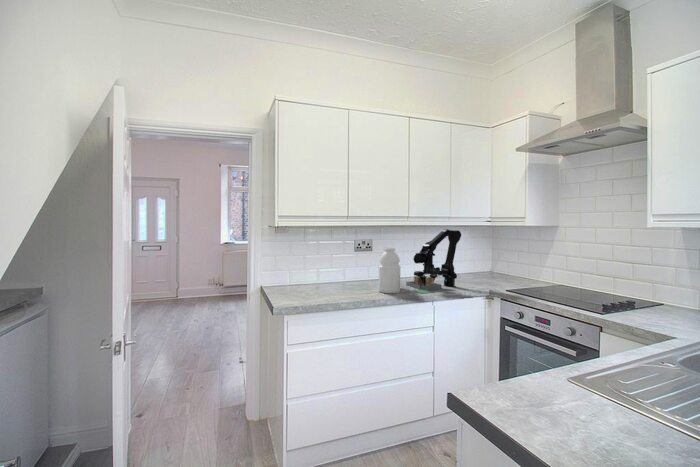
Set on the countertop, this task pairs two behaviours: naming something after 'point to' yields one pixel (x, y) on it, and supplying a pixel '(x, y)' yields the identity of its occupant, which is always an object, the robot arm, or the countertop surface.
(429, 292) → the green pad
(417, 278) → the walnut block
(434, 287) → the grey square slab
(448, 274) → the robot arm
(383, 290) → the bottle
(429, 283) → the oak block
